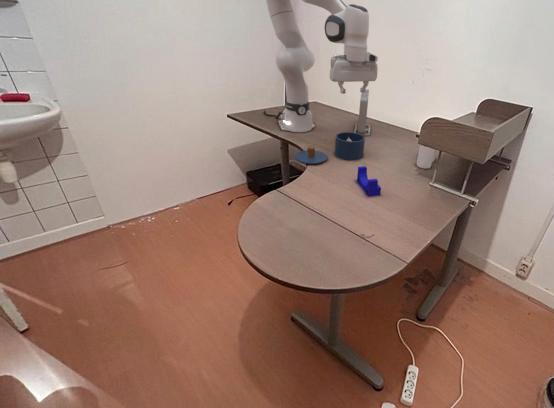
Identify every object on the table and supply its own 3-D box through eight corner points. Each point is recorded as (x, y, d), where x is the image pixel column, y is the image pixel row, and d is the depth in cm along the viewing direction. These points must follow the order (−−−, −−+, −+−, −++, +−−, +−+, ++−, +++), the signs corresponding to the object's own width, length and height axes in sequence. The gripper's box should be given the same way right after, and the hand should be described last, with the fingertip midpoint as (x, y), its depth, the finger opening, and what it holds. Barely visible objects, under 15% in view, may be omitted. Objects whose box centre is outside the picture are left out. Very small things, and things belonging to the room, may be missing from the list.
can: (419, 161, 135) (424, 136, 129) (432, 165, 133) (438, 140, 126) (413, 166, 130) (418, 140, 124) (427, 170, 128) (433, 144, 121)
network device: (356, 122, 179) (358, 88, 168) (370, 124, 179) (373, 89, 168) (353, 136, 157) (355, 97, 146) (369, 138, 157) (373, 99, 147)
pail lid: (289, 154, 130) (289, 143, 127) (319, 150, 136) (319, 140, 134) (302, 167, 120) (301, 155, 117) (333, 162, 127) (333, 151, 124)
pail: (330, 151, 137) (330, 133, 132) (354, 148, 143) (355, 130, 139) (343, 162, 128) (344, 143, 123) (368, 158, 134) (370, 140, 130)
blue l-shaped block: (380, 195, 106) (381, 180, 103) (368, 196, 104) (370, 181, 101) (367, 180, 115) (369, 165, 112) (356, 181, 114) (358, 166, 111)
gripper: (334, 55, 107) (333, 95, 114) (381, 57, 117) (377, 93, 124) (327, 53, 111) (326, 92, 118) (372, 55, 121) (369, 90, 128)
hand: (352, 92), depth 121 cm, fingers open, 8 cm apart
